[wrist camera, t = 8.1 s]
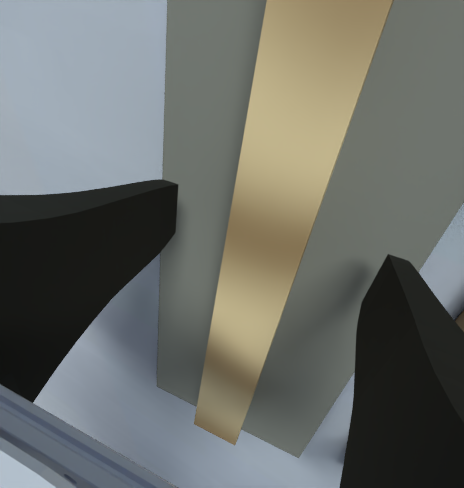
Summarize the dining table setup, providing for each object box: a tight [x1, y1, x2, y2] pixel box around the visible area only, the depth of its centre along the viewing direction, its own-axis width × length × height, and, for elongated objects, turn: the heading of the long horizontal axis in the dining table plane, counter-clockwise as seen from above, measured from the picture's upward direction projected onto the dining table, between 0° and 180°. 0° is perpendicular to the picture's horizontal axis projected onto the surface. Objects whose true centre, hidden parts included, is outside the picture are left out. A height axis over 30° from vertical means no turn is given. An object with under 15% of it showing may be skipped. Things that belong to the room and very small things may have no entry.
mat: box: [157, 0, 464, 458], centre depth 12 cm, size 30×10×1 cm, turn 171°
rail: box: [194, 0, 394, 445], centre depth 11 cm, size 24×2×2 cm, turn 171°
